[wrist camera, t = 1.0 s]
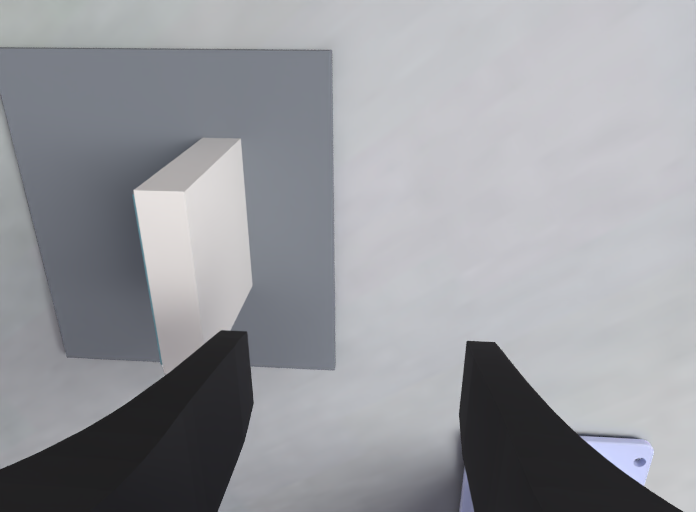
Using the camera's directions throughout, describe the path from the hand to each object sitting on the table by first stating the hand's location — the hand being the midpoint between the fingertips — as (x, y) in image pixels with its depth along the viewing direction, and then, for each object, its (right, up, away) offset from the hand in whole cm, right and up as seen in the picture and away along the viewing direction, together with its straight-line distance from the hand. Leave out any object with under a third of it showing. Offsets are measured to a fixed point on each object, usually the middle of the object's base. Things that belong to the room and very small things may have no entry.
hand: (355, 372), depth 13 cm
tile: (-5, +4, +9) cm, 11 cm away
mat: (-7, +4, +10) cm, 12 cm away
